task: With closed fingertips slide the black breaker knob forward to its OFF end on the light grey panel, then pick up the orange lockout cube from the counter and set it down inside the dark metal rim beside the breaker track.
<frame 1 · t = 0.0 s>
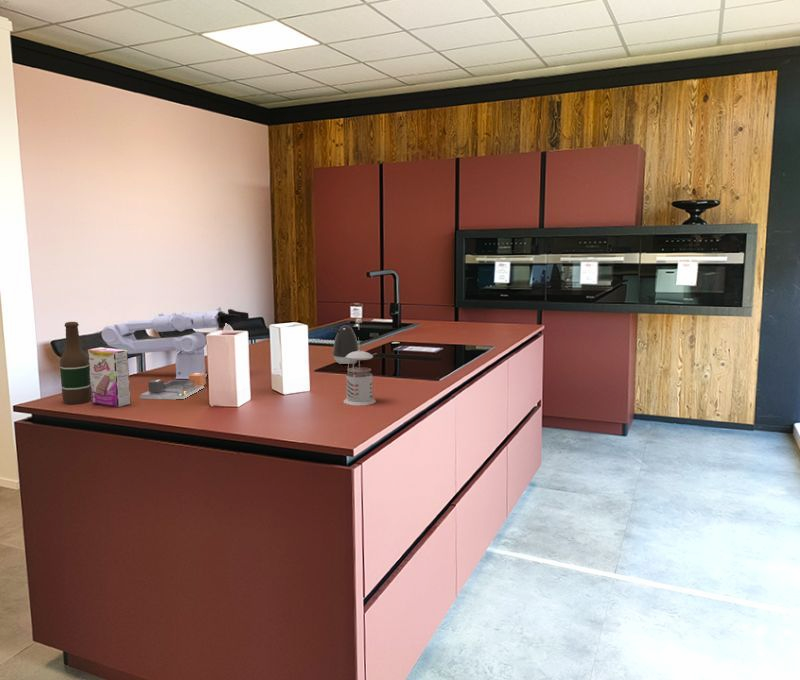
hand: (244, 317, 226), 22 cm above the table, tool horizontal, fingers open, 7 cm apart
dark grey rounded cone: (345, 364, 257), on the table
candy bar box: (111, 404, 193), on the table
breaker A: (156, 385, 203), point 3 cm above the table, slide at 0.0 cm
lockout cap: (197, 386, 217), on the table
french press: (358, 401, 196), on the table
breaker panel: (173, 393, 206), on the table
beer bottle: (77, 402, 196), on the table
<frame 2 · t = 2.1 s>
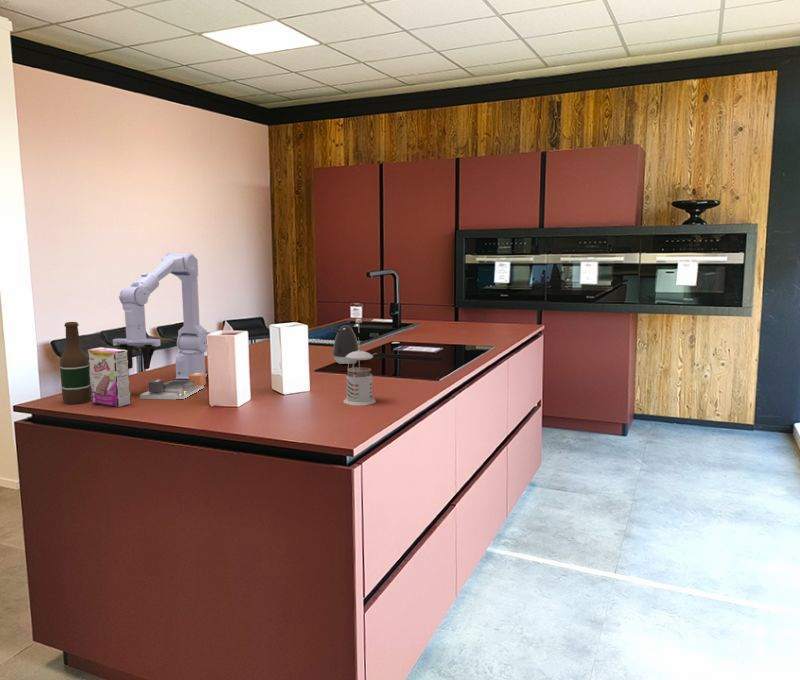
hand: (138, 368, 203), 8 cm above the table, tool pointing down, fingers open, 5 cm apart
nothing on the table moved.
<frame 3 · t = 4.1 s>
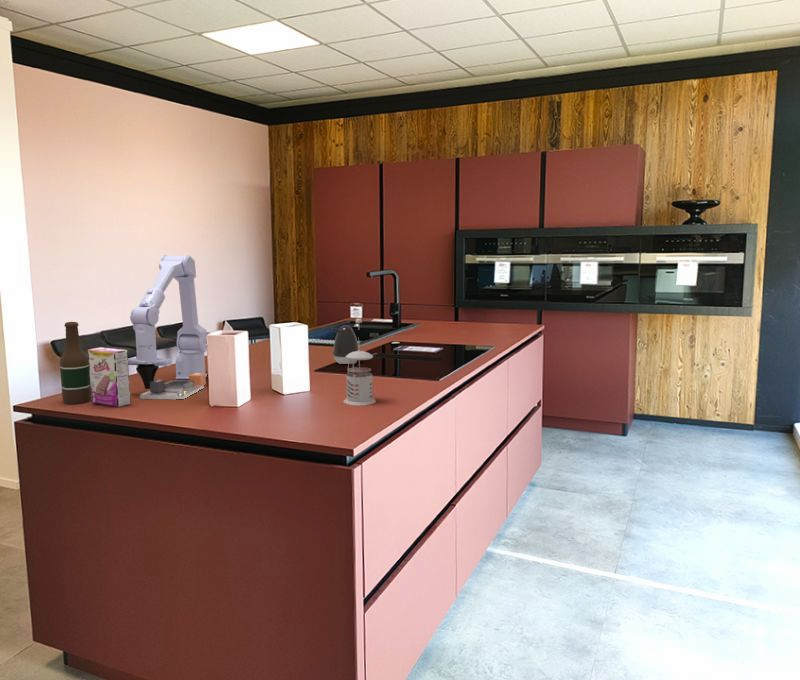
hand: (148, 388, 204), 2 cm above the table, tool pointing down, fingers closed
breaker A: (157, 385, 203), point 3 cm above the table, slide at 0.4 cm, touching gripper
everything else where it was.
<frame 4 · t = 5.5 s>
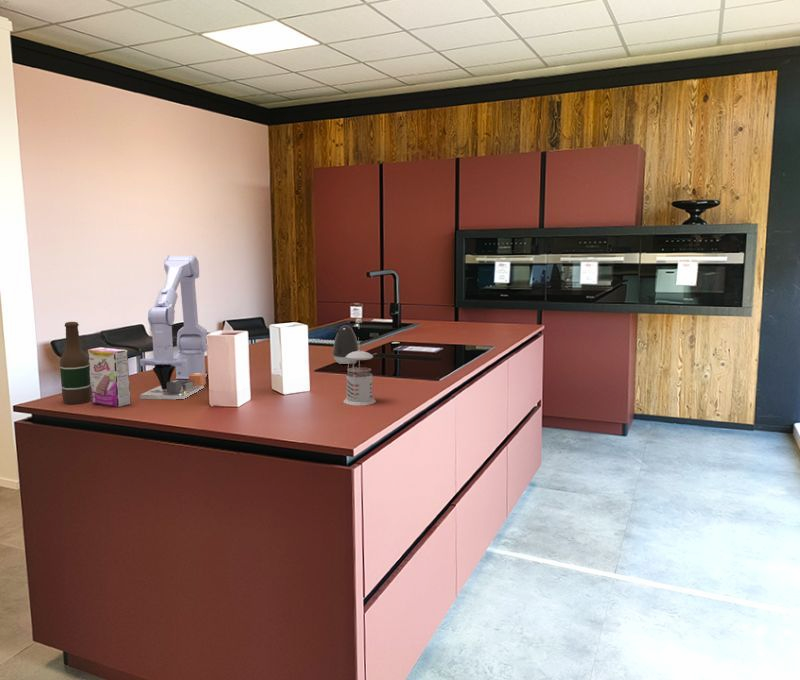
hand: (165, 388, 203), 2 cm above the table, tool pointing down, fingers closed
breaker A: (173, 386, 202), point 3 cm above the table, slide at 5.8 cm, touching gripper
everything else where it was.
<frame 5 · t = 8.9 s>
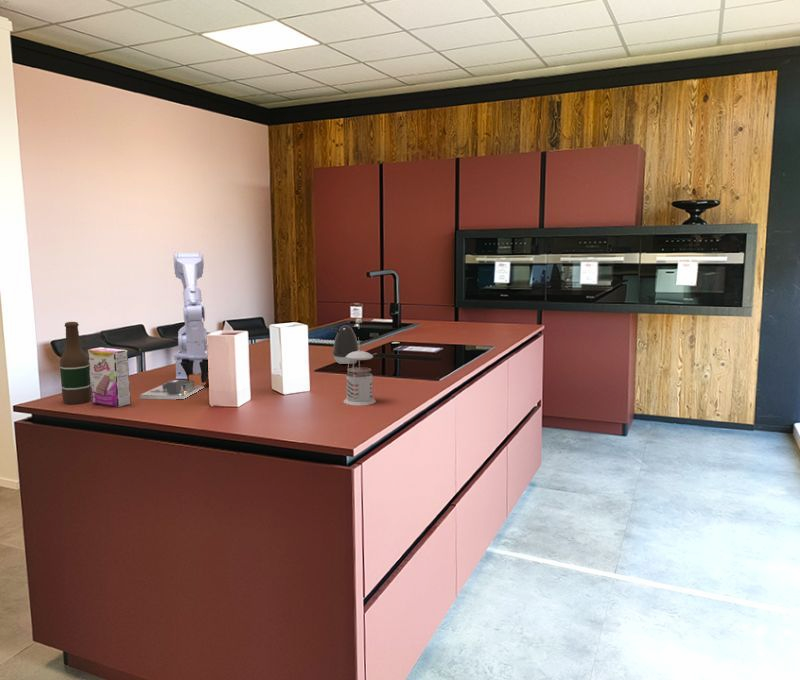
hand: (197, 381, 217), 1 cm above the table, tool pointing down, fingers closed on lockout cap, 4 cm apart
breaker A: (173, 386, 202), point 3 cm above the table, slide at 5.8 cm
lockout cap: (197, 386, 217), on the table, touching gripper
everything else where it was.
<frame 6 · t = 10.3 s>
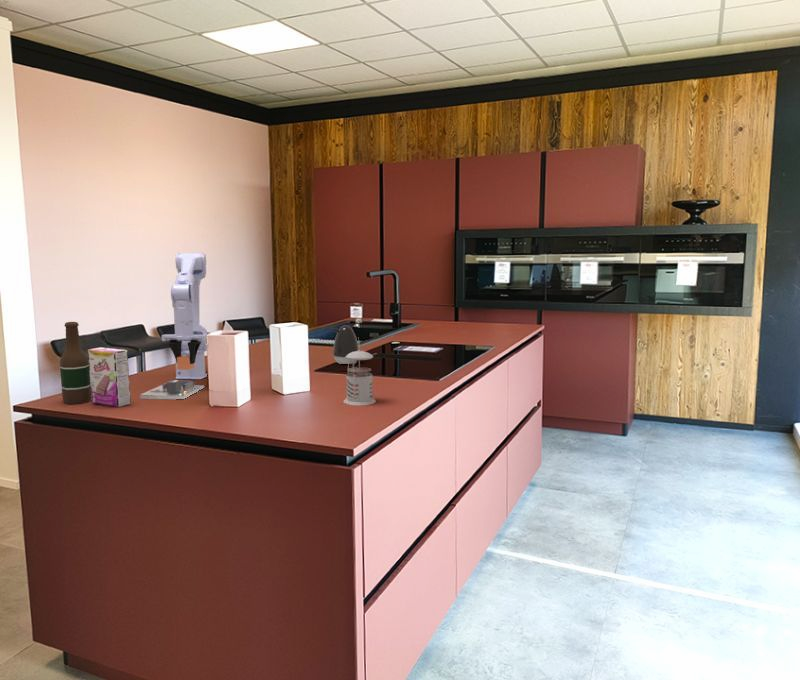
hand: (185, 363, 211), 9 cm above the table, tool pointing down, fingers closed on lockout cap, 4 cm apart
lockout cap: (186, 368, 212), point 7 cm above the table, touching gripper
everything else where it was.
when the fingers open (4 cm above the table, at t = 11.7 s): lockout cap drops 1 cm, resting on breaker panel.
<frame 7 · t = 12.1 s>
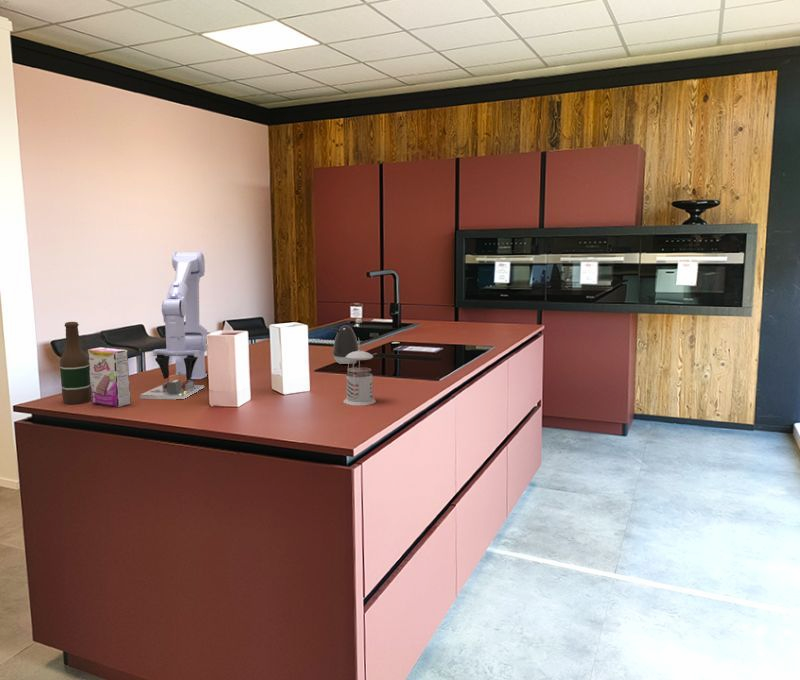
hand: (177, 378, 209), 4 cm above the table, tool pointing down, fingers open, 7 cm apart
lockout cap: (178, 387, 209), point 1 cm above the table, touching breaker panel
everything else where it was.
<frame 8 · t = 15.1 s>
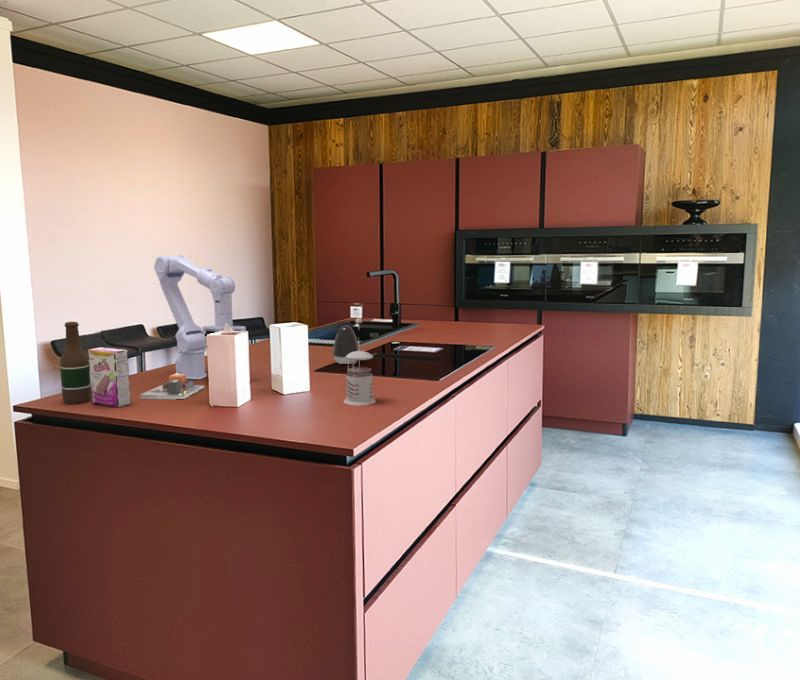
hand: (225, 353, 222), 10 cm above the table, tool pointing down, fingers open, 7 cm apart
nothing on the table moved.
at the end: breaker A slide at 5.8 cm; lockout cap 0.1 cm from the target spot, point 1.2 cm above the table; lockout cap tilted 0° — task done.
